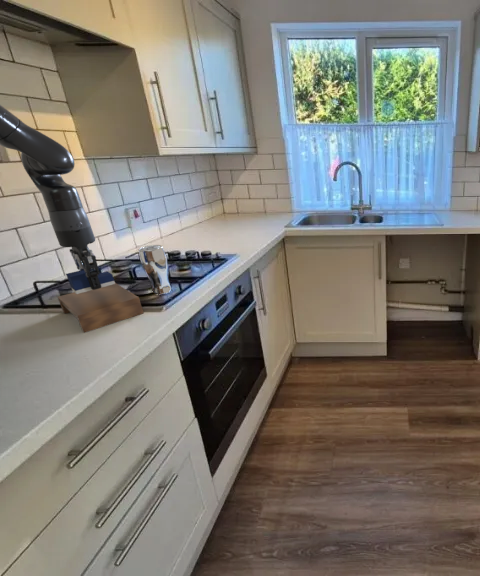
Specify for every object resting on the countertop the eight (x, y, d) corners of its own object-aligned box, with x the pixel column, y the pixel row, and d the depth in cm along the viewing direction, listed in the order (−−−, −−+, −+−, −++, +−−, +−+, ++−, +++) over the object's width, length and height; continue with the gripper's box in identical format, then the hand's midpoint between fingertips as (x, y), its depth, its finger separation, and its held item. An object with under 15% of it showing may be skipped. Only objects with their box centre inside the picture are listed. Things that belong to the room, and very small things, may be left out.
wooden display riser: (84, 332, 93) (77, 315, 91) (63, 312, 105) (57, 296, 103) (143, 313, 103) (138, 297, 101) (119, 296, 115) (114, 281, 113)
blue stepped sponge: (76, 294, 96) (69, 276, 95) (72, 290, 99) (65, 273, 97) (115, 283, 103) (109, 267, 101) (110, 280, 105) (105, 264, 103)
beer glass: (148, 292, 117) (135, 247, 112) (171, 286, 122) (160, 243, 116) (153, 298, 113) (139, 252, 107) (177, 292, 117) (165, 247, 111)
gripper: (47, 225, 96) (70, 285, 102) (61, 233, 87) (85, 297, 94) (81, 220, 101) (101, 277, 108) (98, 227, 93) (118, 288, 99)
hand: (94, 286), depth 101 cm, fingers closed on blue stepped sponge, 4 cm apart
